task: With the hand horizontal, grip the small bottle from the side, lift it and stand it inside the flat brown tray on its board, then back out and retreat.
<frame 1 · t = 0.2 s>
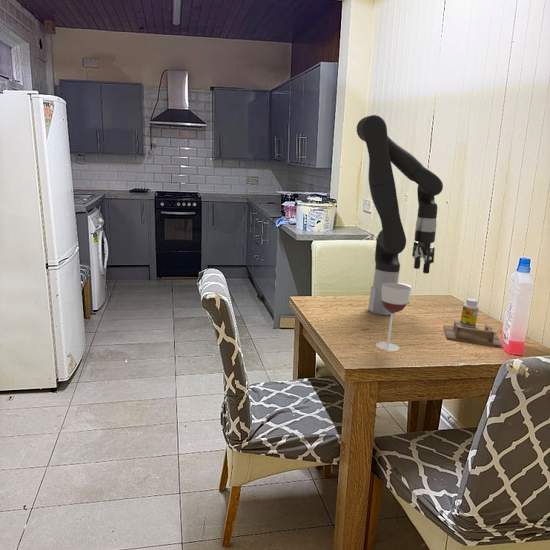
hand: (421, 270, 198), 18 cm above the table, tool pointing down, fingers open, 8 cm apart
supplement bottle: (467, 326, 192), on the table
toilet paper: (397, 299, 222), on the table
flat brown tray: (471, 336, 179), on the table
wineglass: (387, 347, 162), on the table
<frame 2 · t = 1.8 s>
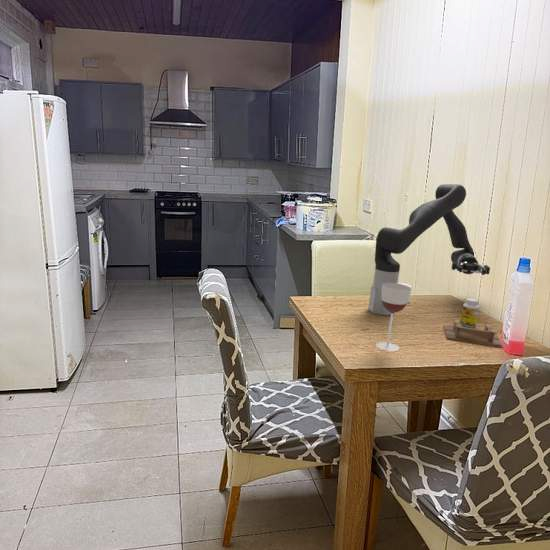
hand: (472, 271, 198), 19 cm above the table, tool horizontal, fingers open, 8 cm apart
nothing on the table moved.
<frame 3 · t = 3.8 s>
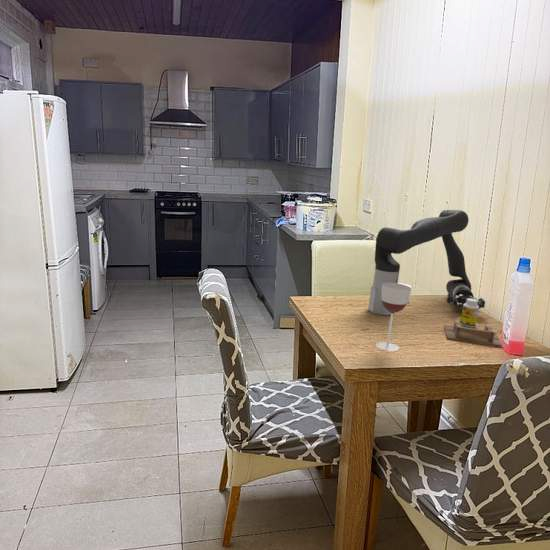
hand: (467, 305, 198), 6 cm above the table, tool horizontal, fingers open, 8 cm apart
nothing on the table moved.
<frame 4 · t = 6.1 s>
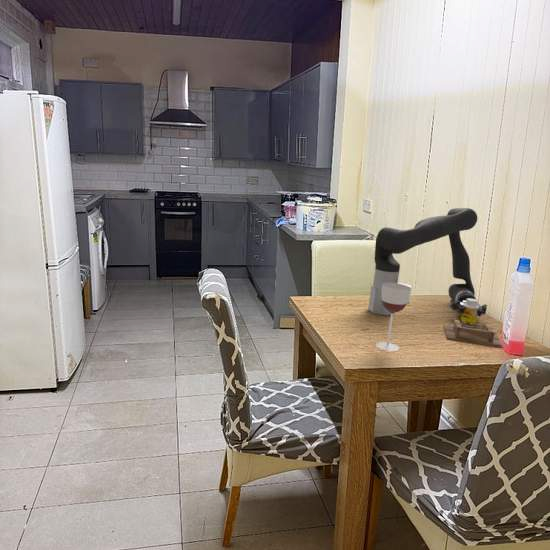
hand: (471, 312, 188), 6 cm above the table, tool horizontal, fingers closed on supplement bottle, 5 cm apart
supplement bottle: (467, 326, 192), on the table, touching gripper
everything else where it was.
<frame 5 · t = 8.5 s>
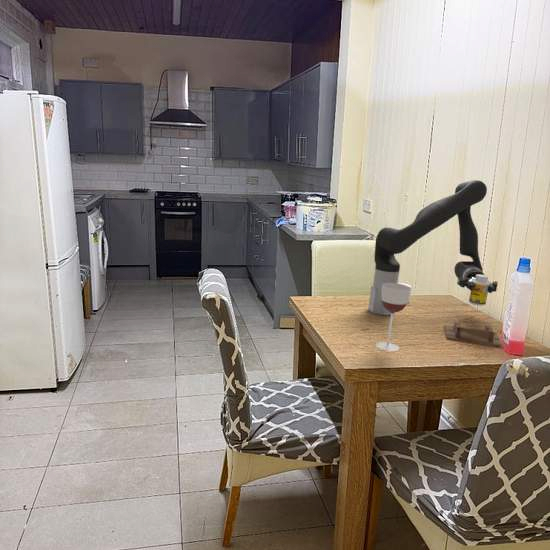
hand: (481, 289, 174), 18 cm above the table, tool horizontal, fingers closed on supplement bottle, 5 cm apart
supplement bottle: (477, 304, 178), point 12 cm above the table, touching gripper
everything else where it was.
when the fingers open (8 cm above the table, at t = 11.1 s): supplement bottle stays where it is, resting on flat brown tray.
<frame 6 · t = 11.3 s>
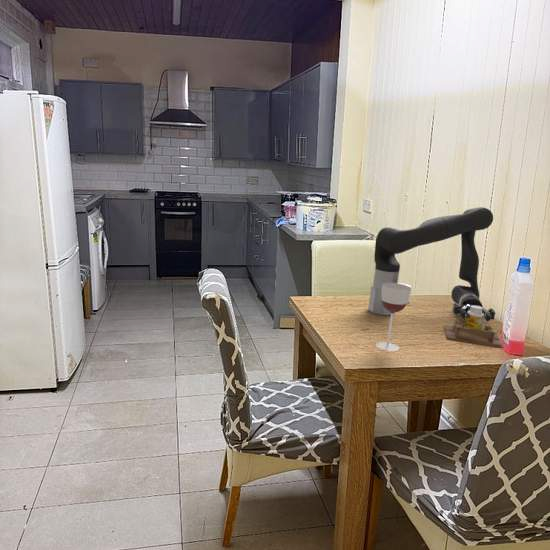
hand: (476, 317, 175), 8 cm above the table, tool horizontal, fingers open, 7 cm apart
supplement bottle: (471, 335, 179), point 1 cm above the table, touching flat brown tray
everything else where it was.
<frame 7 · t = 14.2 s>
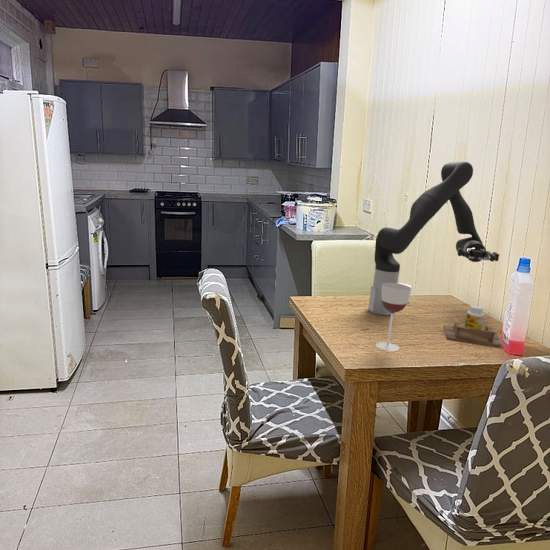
hand: (480, 257, 183), 27 cm above the table, tool horizontal, fingers open, 8 cm apart
nothing on the table moved.
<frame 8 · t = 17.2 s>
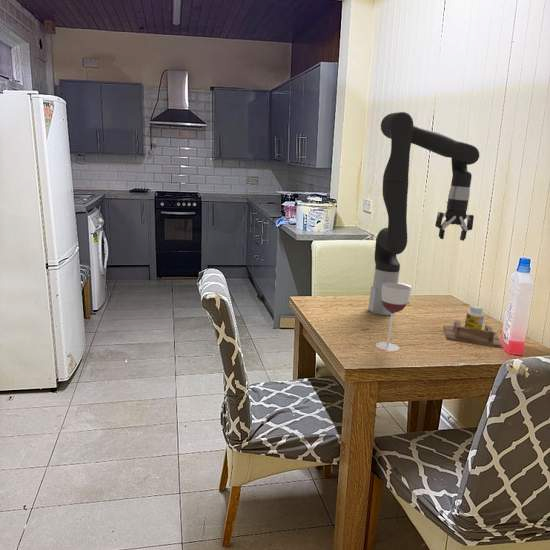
hand: (451, 239, 200), 30 cm above the table, tool pointing down, fingers open, 8 cm apart
nothing on the table moved.
at the end: supplement bottle 0.1 cm from the flat brown tray (horizontally); supplement bottle tilted 0°; supplement bottle point 0.6 cm above the table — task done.
